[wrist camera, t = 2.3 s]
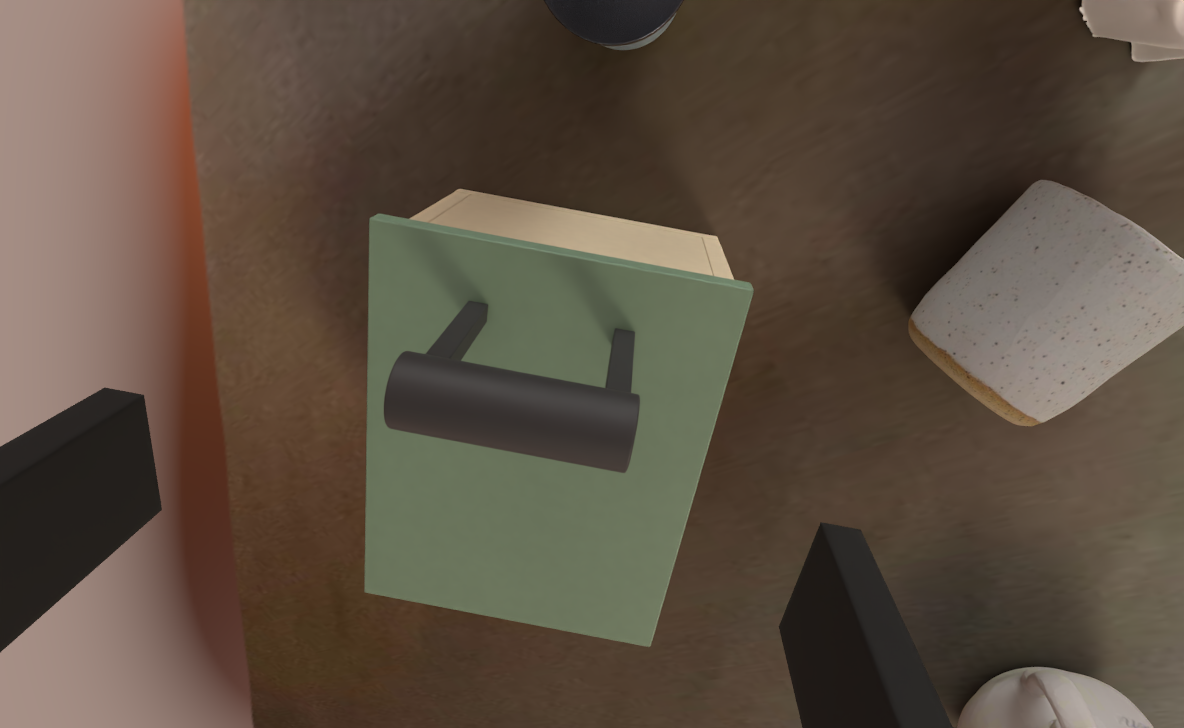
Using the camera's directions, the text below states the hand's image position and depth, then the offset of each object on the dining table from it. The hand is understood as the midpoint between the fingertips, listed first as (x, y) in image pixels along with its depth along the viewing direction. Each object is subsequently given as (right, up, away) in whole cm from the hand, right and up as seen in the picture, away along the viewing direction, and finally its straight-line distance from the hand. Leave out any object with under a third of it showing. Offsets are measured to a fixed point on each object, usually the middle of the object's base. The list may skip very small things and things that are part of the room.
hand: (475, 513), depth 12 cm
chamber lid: (0, -1, +12) cm, 12 cm away
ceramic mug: (+23, +6, +18) cm, 30 cm away
